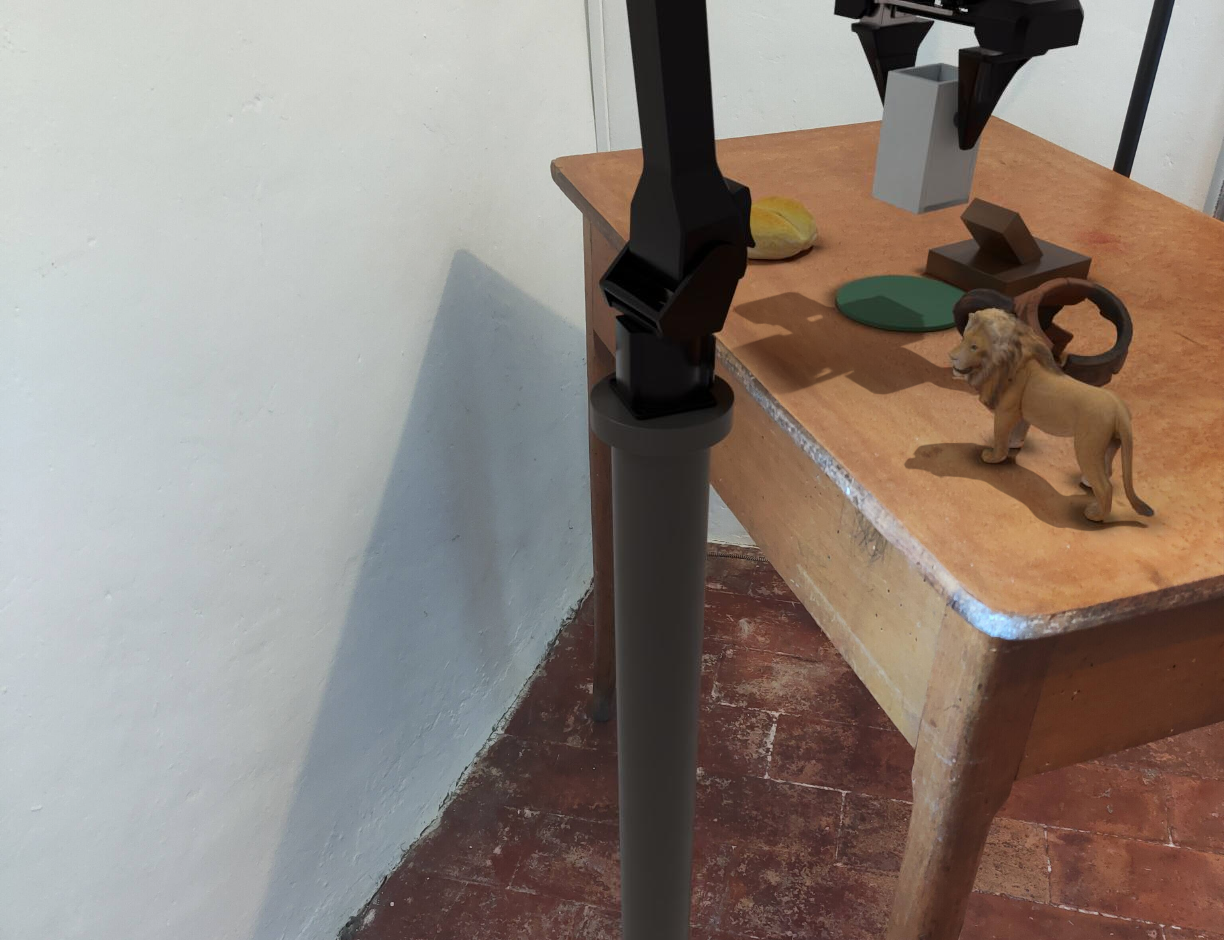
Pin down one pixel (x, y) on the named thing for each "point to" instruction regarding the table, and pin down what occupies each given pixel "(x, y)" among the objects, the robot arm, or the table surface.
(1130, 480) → the lion figurine
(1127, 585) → the table surface
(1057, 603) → the table surface
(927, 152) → the grey storage bin
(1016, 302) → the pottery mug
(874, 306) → the coaster
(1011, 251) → the tilted cube pedestal
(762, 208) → the bread roll
